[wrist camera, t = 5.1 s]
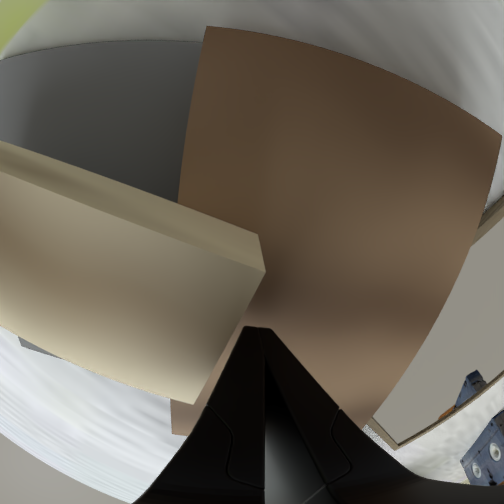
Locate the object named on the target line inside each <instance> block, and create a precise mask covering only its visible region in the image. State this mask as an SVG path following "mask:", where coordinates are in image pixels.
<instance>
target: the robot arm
mask: <svg viewBox="0 0 504 504" xmlns="http://www.w3.org/2000/svg"><path fill="white" fill-rule="evenodd" d="M339 408H340V407H339V406H338V404H337V403H336V402H335V401H334V400H333V399H332V398H331V397H330V396H329V394H328V393H327V392H326V391H325V390H324V389H323V388H322V386H321V385H320V384H319V383H318V382H317V381H316V380H315V379H314V377H313V376H312V375H311V374H310V373H309V372H308V371H307V369H306V368H305V367H304V366H303V365H302V364H301V362H300V361H299V360H298V359H297V358H296V357H295V356H294V354H293V353H292V352H291V351H290V350H289V349H288V347H287V346H286V345H285V344H284V343H283V341H282V340H281V339H280V338H279V337H278V336H277V334H276V333H275V332H274V331H273V330H272V329H271V328H265V327H258V328H257V327H255V326H244V327H243V328H242V331H241V333H240V335H239V337H238V339H237V341H236V343H235V345H234V347H233V350H232V352H231V354H230V356H229V358H228V360H227V362H226V364H225V366H224V368H223V370H222V372H221V374H220V377H219V379H218V381H217V383H216V385H215V387H214V389H213V391H212V393H211V395H210V397H209V399H208V401H207V403H206V406H205V407H204V409H203V411H202V413H201V415H200V417H199V419H198V420H197V422H196V424H195V426H194V428H193V429H192V431H191V433H190V434H189V436H188V437H187V439H186V440H185V442H184V443H183V444H182V446H181V447H180V449H179V450H178V451H177V453H176V454H175V455H174V457H173V458H172V459H171V460H170V462H169V463H168V464H167V466H166V467H165V468H164V469H163V471H162V472H161V473H160V475H159V476H158V477H157V478H156V480H155V481H154V482H153V483H152V484H151V486H150V487H149V488H148V489H147V490H146V491H145V492H144V493H143V494H142V495H141V496H140V497H139V498H138V499H137V500H136V501H135V502H133V503H132V504H504V484H503V485H497V486H482V485H469V484H460V483H452V482H445V481H438V480H432V479H427V478H424V477H421V476H418V475H416V474H414V473H413V472H411V471H409V470H408V469H407V468H405V467H404V466H403V465H402V464H400V463H399V462H398V461H397V460H395V459H394V458H393V457H392V456H391V455H389V454H388V453H387V452H386V451H385V450H383V449H382V448H381V447H380V446H379V445H378V444H376V443H375V442H374V441H373V440H372V439H371V438H370V437H369V436H368V435H366V434H365V433H364V432H363V431H362V430H361V429H360V428H359V427H358V426H357V425H356V424H355V423H354V422H353V421H352V420H351V419H350V418H349V416H348V415H347V414H346V413H345V412H344V411H343V410H342V409H339Z"/></svg>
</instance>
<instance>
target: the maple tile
mask: <svg viewBox="0 0 504 504" xmlns="http://www.w3.org/2000/svg"><path fill="white" fill-rule="evenodd" d="M265 273H266V271H265V266H264V261H263V256H262V252H261V247H260V242H259V237H258V234H255V233H253V232H250V231H248V230H245V229H243V228H240V227H237V226H235V225H232V224H230V223H227V222H225V221H222V220H219V219H217V218H214V217H212V216H209V215H206V214H204V213H201V212H198V211H196V210H193V209H191V208H188V207H185V206H183V205H180V204H177V203H175V202H172V201H169V200H167V199H164V198H161V197H159V196H156V195H153V194H151V193H148V192H145V191H142V190H140V189H137V188H134V187H132V186H129V185H126V184H123V183H121V182H118V181H115V180H112V179H110V178H107V177H104V176H101V175H98V174H96V173H93V172H90V171H87V170H85V169H82V168H79V167H76V166H73V165H70V164H68V163H65V162H62V161H59V160H56V159H53V158H50V157H48V156H45V155H42V154H39V153H36V152H33V151H30V150H27V149H24V148H21V147H18V146H15V145H12V144H10V143H7V142H4V141H1V140H0V326H2V327H3V328H5V329H7V330H8V331H10V332H12V333H14V334H15V335H17V336H19V337H21V338H23V339H24V340H26V341H28V342H30V343H32V344H34V345H36V346H38V347H40V348H42V349H43V350H45V351H47V352H50V353H52V354H54V355H56V356H58V357H60V358H62V359H64V360H66V361H69V362H71V363H73V364H75V365H78V366H80V367H82V368H85V369H87V370H89V371H92V372H94V373H97V374H99V375H102V376H104V377H107V378H110V379H112V380H115V381H118V382H120V383H123V384H126V385H129V386H132V387H135V388H138V389H141V390H144V391H147V392H150V393H153V394H156V395H160V396H163V397H167V398H170V399H174V400H177V401H181V402H185V403H188V404H192V405H194V403H195V401H196V399H197V398H198V396H199V394H200V392H201V390H202V389H203V387H204V385H205V383H206V381H207V380H208V378H209V376H210V374H211V373H212V371H213V369H214V367H215V365H216V363H217V362H218V360H219V358H220V356H221V354H222V353H223V351H224V349H225V347H226V345H227V343H228V342H229V340H230V338H231V336H232V334H233V332H234V331H235V329H236V327H237V325H238V323H239V321H240V320H241V318H242V316H243V314H244V312H245V310H246V308H247V307H248V305H249V303H250V301H251V299H252V297H253V295H254V294H255V292H256V290H257V288H258V286H259V284H260V282H261V280H262V278H263V277H264V275H265Z"/></svg>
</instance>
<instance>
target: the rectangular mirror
mask: <svg viewBox="0 0 504 504" xmlns="http://www.w3.org/2000/svg"><path fill="white" fill-rule="evenodd" d="M503 376H504V196H503V197H502V198H501V199H499V200H498V201H497V202H496V203H495V204H494V205H493V206H492V207H491V208H490V209H489V210H487V211H486V212H485V213H484V214H483V215H482V217H481V220H480V223H479V226H478V228H477V231H476V234H475V237H474V239H473V242H472V245H471V247H470V250H469V252H468V255H467V257H466V259H465V262H464V264H463V266H462V269H461V271H460V273H459V276H458V278H457V280H456V282H455V284H454V286H453V288H452V291H451V293H450V295H449V297H448V299H447V301H446V303H445V305H444V307H443V309H442V310H441V312H440V314H439V316H438V318H437V320H436V322H435V323H434V325H433V327H432V329H431V331H430V332H429V334H428V336H427V338H426V339H425V341H424V343H423V344H422V346H421V348H420V349H419V351H418V352H417V354H416V356H415V357H414V359H413V360H412V362H411V363H410V365H409V367H408V368H407V370H406V371H405V373H404V374H403V376H402V377H401V378H400V380H399V381H398V383H397V384H396V386H395V387H394V388H393V390H392V391H391V393H390V394H389V395H388V397H387V398H386V399H385V401H384V402H383V403H382V405H381V406H380V407H379V409H378V410H377V411H376V412H375V414H374V415H373V416H372V417H371V419H370V420H369V421H368V422H367V425H368V426H369V427H370V428H371V429H372V430H373V431H375V432H376V433H377V434H378V435H379V436H380V437H381V438H382V439H383V440H384V441H385V442H386V443H387V444H388V445H389V446H390V447H391V448H392V449H393V450H394V451H395V450H397V449H399V448H401V447H403V446H405V445H407V444H408V443H410V442H412V441H414V440H416V439H417V438H419V437H421V436H422V435H424V434H426V433H427V432H429V431H431V430H432V429H434V428H436V427H437V426H439V425H440V424H442V423H443V422H445V421H446V420H448V419H449V418H451V417H452V416H454V415H455V414H457V413H458V412H459V411H461V410H462V409H464V408H465V407H466V406H468V405H469V404H470V403H472V402H473V401H474V400H476V399H477V398H478V397H480V396H481V395H482V394H483V393H485V392H486V391H487V390H488V389H489V388H491V387H492V386H493V385H494V384H495V383H497V382H498V381H499V380H500V379H501V378H502V377H503Z"/></svg>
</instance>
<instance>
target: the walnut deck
mask: <svg viewBox="0 0 504 504" xmlns="http://www.w3.org/2000/svg"><path fill="white" fill-rule="evenodd" d="M501 140H502V135H500V134H499V133H498V132H496V131H495V130H493V129H492V128H491V127H489V126H488V125H486V124H485V123H483V122H482V121H480V120H479V119H477V118H476V117H474V116H473V115H471V114H469V113H468V112H466V111H465V110H463V109H461V108H460V107H458V106H456V105H455V104H453V103H451V102H449V101H448V100H446V99H444V98H442V97H440V96H439V95H437V94H435V93H433V92H431V91H429V90H427V89H425V88H423V87H421V86H419V85H417V84H415V83H413V82H411V81H409V80H407V79H405V78H402V77H400V76H398V75H396V74H393V73H391V72H389V71H386V70H384V69H381V68H379V67H377V66H374V65H371V64H369V63H366V62H364V61H361V60H358V59H355V58H352V57H350V56H347V55H344V54H341V53H338V52H334V51H331V50H328V49H325V48H321V47H318V46H314V45H311V44H307V43H303V42H299V41H295V40H291V39H286V38H282V37H277V36H272V35H267V34H262V33H257V32H251V31H244V30H238V29H230V28H222V27H213V26H207V27H206V31H205V35H204V40H203V44H202V49H201V53H200V58H199V63H198V68H197V73H196V78H195V84H194V89H193V94H192V100H191V106H190V112H189V118H188V124H187V131H186V138H185V145H184V152H183V159H182V167H181V175H180V184H179V193H178V203H177V204H180V205H183V206H185V207H188V208H191V209H193V210H196V211H198V212H201V213H204V214H206V215H209V216H212V217H214V218H217V219H219V220H222V221H225V222H227V223H230V224H232V225H235V226H237V227H240V228H243V229H245V230H248V231H250V232H253V233H255V234H258V237H259V242H260V247H261V252H262V256H263V261H264V266H265V271H266V273H265V275H264V277H263V278H262V280H261V282H260V284H259V286H258V288H257V290H256V292H255V294H254V295H253V297H252V299H251V301H250V303H249V305H248V307H247V308H246V310H245V312H244V314H243V316H242V318H241V320H240V321H239V323H238V325H237V327H236V329H235V331H234V332H233V334H232V336H231V338H230V340H229V342H228V343H227V345H226V347H225V349H224V351H223V353H222V354H221V356H220V358H219V360H218V362H217V363H216V365H215V367H214V369H213V371H212V373H211V374H210V376H209V378H208V380H207V381H206V383H205V385H204V387H203V389H202V390H201V392H200V394H199V396H198V398H197V399H196V401H195V403H194V405H192V404H188V403H185V402H181V401H177V400H174V399H170V401H171V424H172V434H176V435H184V436H189V434H190V433H191V431H192V429H193V428H194V426H195V424H196V422H197V420H198V419H199V417H200V415H201V413H202V411H203V409H204V407H205V406H206V403H207V401H208V399H209V397H210V395H211V393H212V391H213V389H214V387H215V385H216V383H217V381H218V379H219V377H220V374H221V372H222V370H223V368H224V366H225V364H226V362H227V360H228V358H229V356H230V354H231V352H232V350H233V347H234V345H235V343H236V341H237V339H238V337H239V335H240V333H241V331H242V328H243V327H244V326H255V327H257V328H258V327H265V328H271V329H272V330H273V331H274V332H275V333H276V334H277V336H278V337H279V338H280V339H281V340H282V341H283V343H284V344H285V345H286V346H287V347H288V349H289V350H290V351H291V352H292V353H293V354H294V356H295V357H296V358H297V359H298V360H299V361H300V362H301V364H302V365H303V366H304V367H305V368H306V369H307V371H308V372H309V373H310V374H311V375H312V376H313V377H314V379H315V380H316V381H317V382H318V383H319V384H320V385H321V386H322V388H323V389H324V390H325V391H326V392H327V393H328V394H329V396H330V397H331V398H332V399H333V400H334V401H335V402H336V403H337V404H338V406H339V407H340V408H339V409H342V410H343V411H344V412H345V413H346V414H347V415H348V416H349V418H350V419H351V420H352V421H353V422H354V423H355V424H356V425H357V426H358V427H359V428H360V429H361V430H362V428H363V427H364V426H365V425H366V424H367V422H368V421H369V420H370V419H371V417H372V416H373V415H374V414H375V412H376V411H377V410H378V409H379V407H380V406H381V405H382V403H383V402H384V401H385V399H386V398H387V397H388V395H389V394H390V393H391V391H392V390H393V388H394V387H395V386H396V384H397V383H398V381H399V380H400V378H401V377H402V376H403V374H404V373H405V371H406V370H407V368H408V367H409V365H410V363H411V362H412V360H413V359H414V357H415V356H416V354H417V352H418V351H419V349H420V348H421V346H422V344H423V343H424V341H425V339H426V338H427V336H428V334H429V332H430V331H431V329H432V327H433V325H434V323H435V322H436V320H437V318H438V316H439V314H440V312H441V310H442V309H443V307H444V305H445V303H446V301H447V299H448V297H449V295H450V293H451V291H452V288H453V286H454V284H455V282H456V280H457V278H458V276H459V273H460V271H461V269H462V266H463V264H464V262H465V259H466V257H467V255H468V252H469V250H470V247H471V245H472V242H473V239H474V237H475V234H476V231H477V228H478V226H479V223H480V220H481V217H482V214H483V211H484V208H485V204H486V201H487V198H488V194H489V191H490V187H491V184H492V180H493V176H494V172H495V168H496V164H497V159H498V155H499V150H500V145H501Z"/></svg>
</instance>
